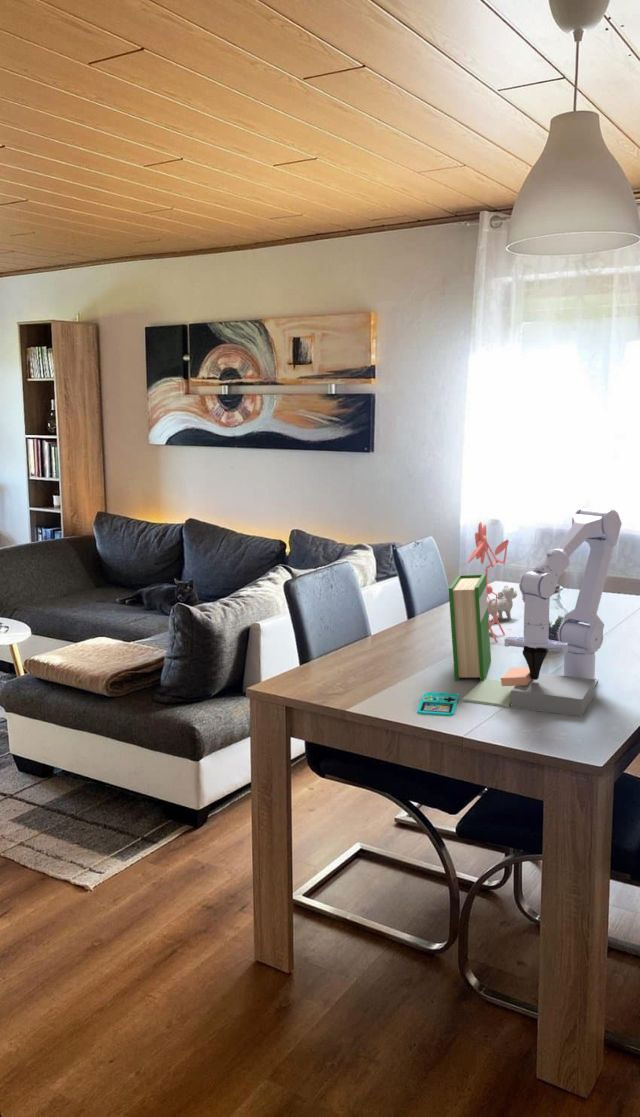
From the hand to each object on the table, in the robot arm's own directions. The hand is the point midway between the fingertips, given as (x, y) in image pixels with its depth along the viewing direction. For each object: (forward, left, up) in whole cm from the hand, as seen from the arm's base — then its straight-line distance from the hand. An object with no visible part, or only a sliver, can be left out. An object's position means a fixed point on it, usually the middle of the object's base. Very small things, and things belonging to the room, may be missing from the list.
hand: (534, 678), depth 212 cm
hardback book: (-15, -19, -5) cm, 25 cm away
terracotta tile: (0, -4, -1) cm, 4 cm away
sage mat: (0, -9, -5) cm, 11 cm away
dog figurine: (-74, -28, -5) cm, 80 cm away
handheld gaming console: (+13, -19, -6) cm, 24 cm away
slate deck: (0, +5, -5) cm, 7 cm away
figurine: (-50, -28, -5) cm, 58 cm away
